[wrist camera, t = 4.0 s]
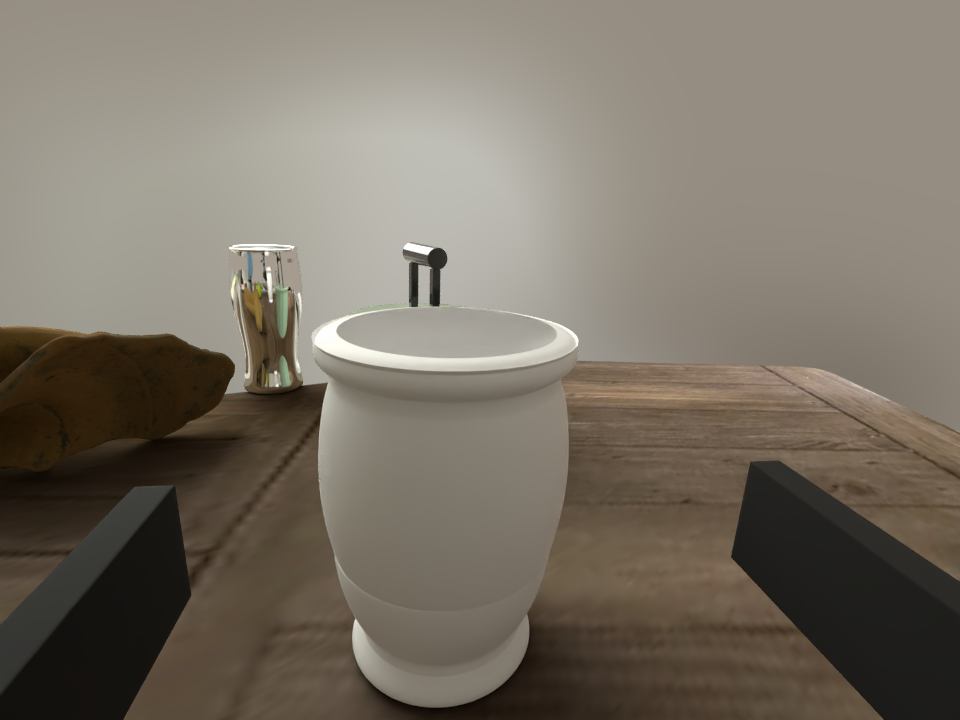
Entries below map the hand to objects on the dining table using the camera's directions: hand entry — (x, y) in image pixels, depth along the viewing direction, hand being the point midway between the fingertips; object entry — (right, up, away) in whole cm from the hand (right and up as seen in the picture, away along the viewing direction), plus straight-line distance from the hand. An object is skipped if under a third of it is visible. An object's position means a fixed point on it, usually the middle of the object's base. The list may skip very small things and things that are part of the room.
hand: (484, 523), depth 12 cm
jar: (-2, -10, +13) cm, 16 cm away
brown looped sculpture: (-33, -4, +27) cm, 43 cm away
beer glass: (-23, +1, +45) cm, 50 cm away
